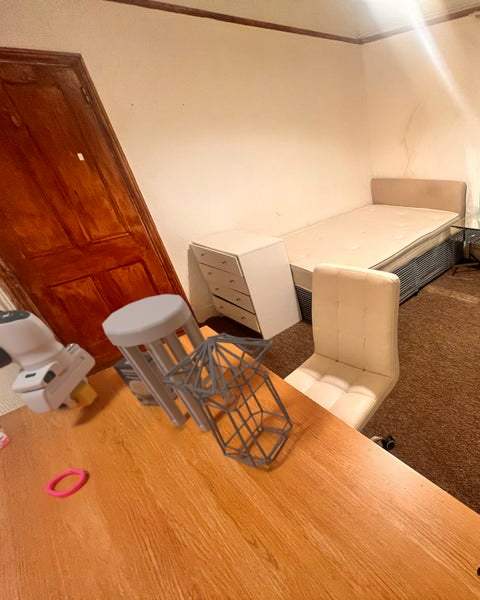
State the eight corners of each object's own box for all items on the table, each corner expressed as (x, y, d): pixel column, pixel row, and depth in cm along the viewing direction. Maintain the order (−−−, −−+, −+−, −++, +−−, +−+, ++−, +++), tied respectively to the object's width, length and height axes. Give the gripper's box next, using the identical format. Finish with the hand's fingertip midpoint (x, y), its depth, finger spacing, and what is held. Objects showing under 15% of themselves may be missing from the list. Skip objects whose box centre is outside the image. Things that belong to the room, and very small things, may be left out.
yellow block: (90, 404, 90) (79, 393, 88) (70, 409, 90) (59, 397, 87) (98, 394, 94) (88, 383, 91) (79, 398, 93) (68, 387, 90)
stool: (246, 394, 93) (198, 295, 75) (207, 440, 81) (138, 335, 62) (204, 387, 97) (149, 291, 78) (161, 430, 84) (83, 328, 66)
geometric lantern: (269, 486, 69) (207, 374, 51) (216, 467, 74) (142, 358, 56) (308, 427, 82) (269, 320, 63) (260, 414, 87) (211, 311, 68)
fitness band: (94, 474, 75) (90, 471, 74) (68, 500, 70) (63, 497, 69) (69, 469, 76) (65, 465, 75) (42, 493, 71) (37, 490, 71)
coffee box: (140, 406, 92) (110, 366, 84) (156, 389, 98) (129, 350, 89) (167, 407, 91) (140, 367, 83) (182, 390, 96) (158, 351, 88)
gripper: (61, 342, 92) (89, 375, 99) (5, 394, 75) (44, 429, 82) (85, 338, 93) (111, 371, 100) (36, 387, 76) (71, 423, 83)
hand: (80, 398), depth 91 cm, fingers closed on yellow block, 4 cm apart
